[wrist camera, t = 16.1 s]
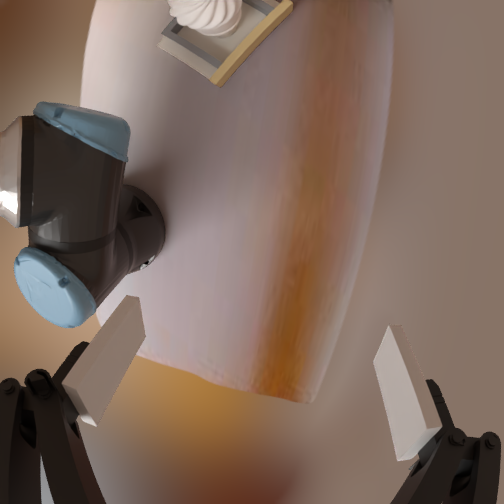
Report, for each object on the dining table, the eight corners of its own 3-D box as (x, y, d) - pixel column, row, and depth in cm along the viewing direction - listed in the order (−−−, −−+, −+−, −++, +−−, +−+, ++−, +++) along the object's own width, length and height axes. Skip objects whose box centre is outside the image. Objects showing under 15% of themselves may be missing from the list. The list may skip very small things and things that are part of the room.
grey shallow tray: (158, 46, 35) (147, 41, 31) (224, -26, 29) (219, -37, 25) (222, 88, 38) (215, 84, 34) (292, 13, 32) (293, 2, 28)
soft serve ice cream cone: (187, 46, 34) (141, 13, 20) (204, 0, 31) (168, -48, 16) (243, 55, 35) (221, 20, 20) (259, 8, 31) (247, -44, 17)
